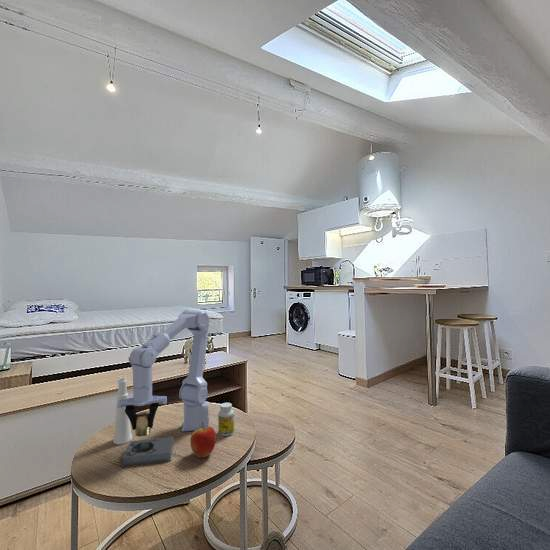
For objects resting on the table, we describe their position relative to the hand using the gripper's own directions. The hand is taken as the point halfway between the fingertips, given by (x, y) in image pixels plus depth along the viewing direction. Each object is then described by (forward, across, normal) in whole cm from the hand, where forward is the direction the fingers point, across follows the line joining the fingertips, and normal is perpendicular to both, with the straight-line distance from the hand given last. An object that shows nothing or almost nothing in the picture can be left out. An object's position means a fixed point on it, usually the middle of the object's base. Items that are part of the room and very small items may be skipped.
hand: (142, 427), depth 101 cm
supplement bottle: (+9, +27, +9) cm, 30 cm away
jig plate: (+9, +2, 0) cm, 9 cm away
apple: (+9, +19, -4) cm, 21 cm away
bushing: (+2, 0, 0) cm, 2 cm away
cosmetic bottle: (+9, -9, +12) cm, 17 cm away
